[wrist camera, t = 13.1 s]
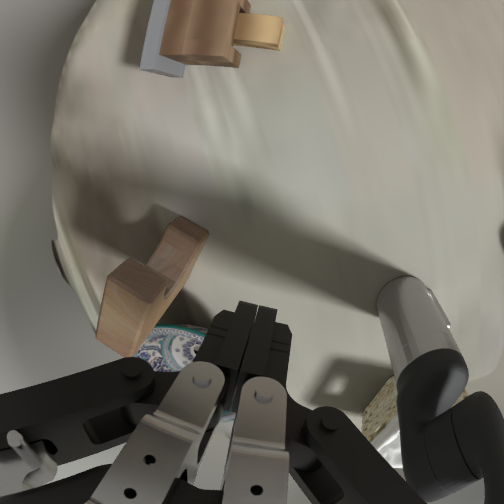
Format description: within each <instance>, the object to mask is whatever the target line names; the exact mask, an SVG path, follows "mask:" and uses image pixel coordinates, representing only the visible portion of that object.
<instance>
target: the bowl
mask: <svg viewBox="0 0 504 504" xmlns="http://www.w3.org/2000/svg"><path fill="white" fill-rule="evenodd" d="M207 331H208V329H207V328H204V327H201V326H197V325H190V324H178V325H171V324H156V325H155V327H154V328H153V329H152V331H151V332H150V334H149V335H148V337H147V338H146V339H145V341H144V342H143V344H142V345H141V347H140V348H139V350H138V351H137V352H136V354H135V355H134V357H138V358H141V359H144V360H146V361H147V362H148V363H150V365H151V366H152V368H153V370H154V371H162V372H176V371H180V370H182V369H183V367H185V366H186V365H187V364H189V363H192V362H193V360H194V358H195V356H196V353H195V352H194V347H196V346H201V344H202V342H203V339H204V337H205V335H206V334H207ZM124 358H125V357H124ZM235 393H236V391H235ZM234 397H235V395H234ZM233 402H234V398H233V401H232V405H231V408H230V411H226V410H223V412H222V416H221V419H220V421H219V422H227V421H232V420H234V419H235V415H236V413H234V412H231V411H232V407H233Z"/></svg>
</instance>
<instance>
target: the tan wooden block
mask: <svg viewBox="0 0 504 504" xmlns="http://www.w3.org/2000/svg"><path fill="white" fill-rule="evenodd" d="M284 27H285V25H284V22H283V18H282V17H277V16H268V15H259V14H247V13H239V16H238V21H237V26H236V31H235V36H234V41H233V45H237V46H247V47H256V48H264V49H272V50H278V51H280V47H281V42H282V37H283V32H284Z"/></svg>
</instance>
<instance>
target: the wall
mask: <svg viewBox="0 0 504 504" xmlns="http://www.w3.org/2000/svg"><path fill="white" fill-rule="evenodd" d="M170 2H171V0H154V2H153V6H152V10H151V14H150V18H149V23H148V27H147V32H146V36H145V41H144V46H143V52H142V57H141V63H140V69H139V70H144V71H148V72H152V73H156V74H161V75H165V76H169V77H183V75H184V69H185V64H182V63H180V62H177V61H174V60H172V59H169V58H166V57H164V56H161V55H159V52H160V47H161V42H162V37H163V32H164V27H165V23H166V18H167V14H168V10H169V6H170Z"/></svg>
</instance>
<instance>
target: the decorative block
mask: <svg viewBox="0 0 504 504" xmlns="http://www.w3.org/2000/svg"><path fill="white" fill-rule="evenodd" d="M208 235H209V233H208V231H207V230H205V229H203V228H201V227H199V226H198V225H196V224H194V223H192V222H190V221H189V220H187V219H185V218H183V217H182V216H180V217H178V218H177V219H175V220H174V221H173V222H172V223H170V224H169V225H168V226H167V227H166V230H165V232H164V234H163V236H162V238H161V240H160V242H159V244H158V245H157V247H156V249H155V251H154V252H153V254H152V255H151V257H150V258H149V260H148V262H147V263H146V265H145V266H142V265H141V264H139V263H137V262H136V261H134V260H133V259H131V258H129V259H127V260H125V261H124V262H123V263H122V264H121V265H120V266H118V267H117V268H116V269H115V270H114V271H113V272H111V273H110V274H109V275H108V276H107V280H106V285H105V289H104V293H103V298H102V303H101V308H100V313H99V318H98V324H97V330H96V339H97V340H99V341H100V342H102V343H103V344H105V345H106V346H108V347H109V348H111V349H112V350H114V351H115V352H117V353H118V354H120V355H121V356H123V357H125V358H126V357H134V355H135V354H136V352H137V351H138V350H139V348H140V347H141V345H142V344H143V342H144V341H145V339H146V338H147V337H148V335H149V334H150V332H151V331H152V329H153V328H154V327H155V325H156V324H157V322H158V321H159V319H160V318H161V317H162V315H163V314H164V312H165V311H166V310H167V308H168V307H169V305H170V304H171V303H172V301H173V300H174V298H175V297H176V296H177V294H178V293H179V292H180V290H181V289H182V287H183V286H184V285H185V283H186V281H187V279H188V277H189V275H190V273H191V271H192V268H193V266H194V264H195V262H196V260H197V258H198V256H199V254H200V252H201V250H202V248H203V245H204V243H205V241H206V239H207V237H208Z"/></svg>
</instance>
